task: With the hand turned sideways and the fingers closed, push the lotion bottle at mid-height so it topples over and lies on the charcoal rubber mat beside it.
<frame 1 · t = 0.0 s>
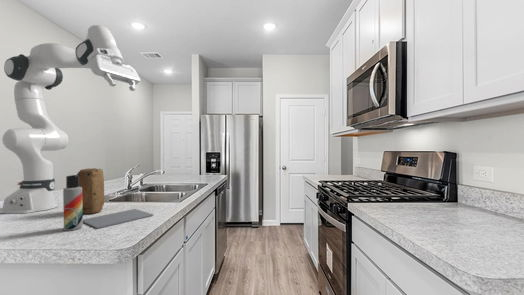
hand: (123, 87, 105), 54 cm above the table, tool tilted 30°, fingers open, 8 cm apart
block: (89, 212, 119), on the table
mat: (118, 218, 108), on the table
lotion bottle: (73, 229, 96), on the table
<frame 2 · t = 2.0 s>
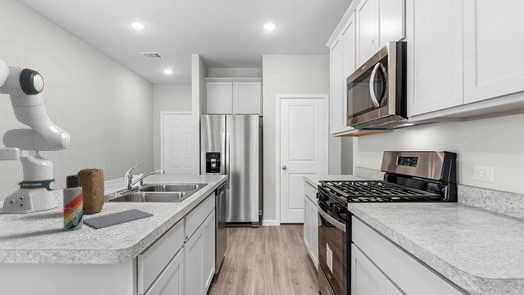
hand: (31, 153, 86), 28 cm above the table, tool horizontal, fingers open, 8 cm apart
nothing on the table moved.
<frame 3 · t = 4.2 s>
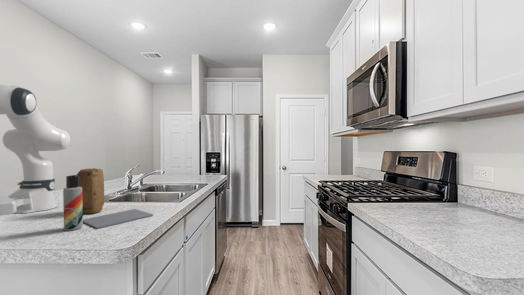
hand: (29, 200, 85), 13 cm above the table, tool horizontal, fingers closed
nothing on the table moved.
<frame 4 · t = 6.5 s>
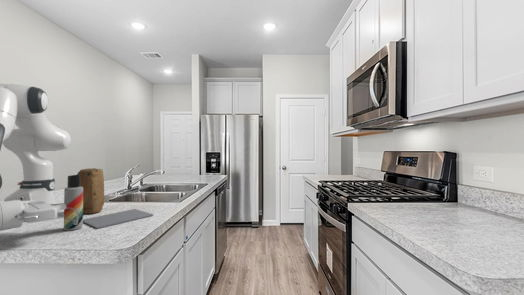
hand: (65, 205, 94), 9 cm above the table, tool horizontal, fingers closed
lotion bottle: (73, 228, 96), on the table, touching gripper
everything else where it was.
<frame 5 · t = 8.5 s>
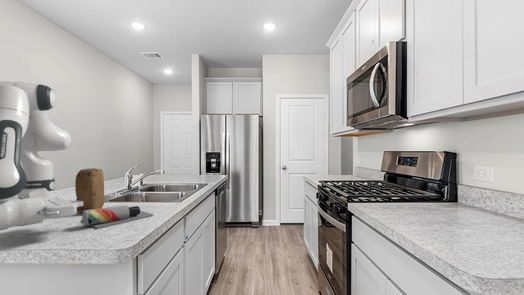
hand: (82, 202, 98), 9 cm above the table, tool horizontal, fingers closed
lotion bottle: (83, 218, 96), point 4 cm above the table, touching mat
everything else where it was.
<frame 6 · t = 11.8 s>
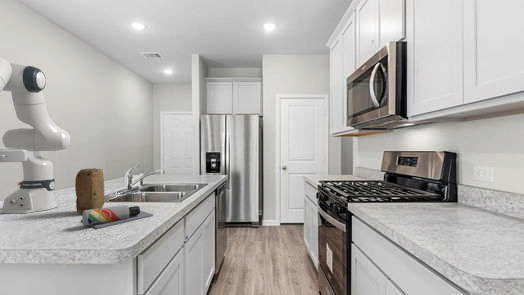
hand: (38, 153, 89), 28 cm above the table, tool horizontal, fingers closed
nothing on the table moved.
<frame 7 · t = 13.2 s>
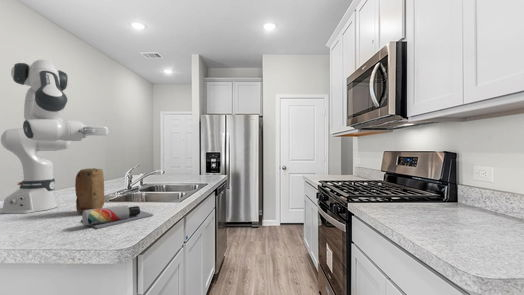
hand: (110, 131, 121), 37 cm above the table, tool horizontal, fingers closed
nothing on the table moved.
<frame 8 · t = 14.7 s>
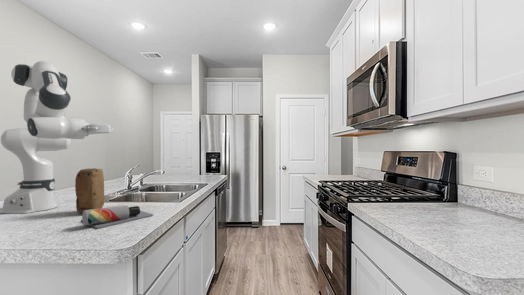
hand: (112, 130, 123), 38 cm above the table, tool horizontal, fingers closed
nothing on the table moved.
at the end: lotion bottle tilted 93°; lotion bottle touching mat; block moved 0.2 cm from its start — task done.
